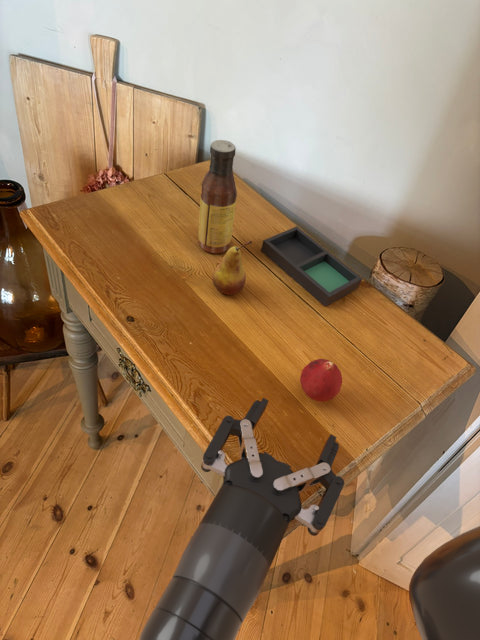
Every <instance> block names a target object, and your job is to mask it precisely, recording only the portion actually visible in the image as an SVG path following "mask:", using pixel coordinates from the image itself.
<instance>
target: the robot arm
mask: <svg viewBox="0 0 480 640" xmlns="http://www.w3.org/2000/svg"><path fill="white" fill-rule="evenodd" d="M268 404H269V399H267V398H265V397H262V399H261V401H260V400H259V399H257V400H254V401H253V402H252V404H251V406H250V408H249V409H248V411H247V413H246V414H245V416H244V417H243V418H242V419H235V418H234V417H233V416H232V415H225V416H224V417H223V419H222V421H221V422H220V424H219V426H218V428H217V430H216V432H215V433H214V435H213V436H212V439H211V441H210V442H209V444H208V446H207V448H206V449H205V451H204V453H203V456H202V460H201V465H200V468H201V470H202V471H203V472H205V473H209V472H211V471H212V472H214V473H216V474H217V475H220V476H221V477H222V480H223V481H222V484H221V485H220V487H219V489H218V491H217V493H216V495H215V496H214V498H213V500H212V502H211V503H210V505H209V507H208V508H207V510H206V512H205V514H204V515H203V517H202V519H201V520H200V522H199V524H198V525H197V528H196V529H195V531H194V533H193V534H192V536H191V537H190V540H189V541H188V543H187V545H186V546H185V548H184V550H183V552H182V555H181V556H180V559H179V561H178V564H177V566H176V569H175V571H174V573H173V575H172V577H171V579H170V580H169V581H168V584H167V585H166V587H165V589H164V591H163V592H162V594H161V595H160V598H159V599H158V601H157V603H156V605H155V606H154V608H153V610H152V612H151V613H150V615H149V616H148V618H147V621H146V622H145V623H144V626H143V627H142V630H141V633H140V635H139V638H138V640H236V638H237V636H238V634H239V631H240V629H241V627H242V624H243V623H244V621H245V620H246V618H247V615H248V613H249V612H250V610H251V608H252V607H253V605H254V604H255V602H256V601H257V598H258V596H259V594H260V592H261V590H262V587H263V585H264V583H265V581H266V578H267V575H268V573H269V571H270V569H271V567H272V564H273V562H274V560H275V557H276V555H277V553H278V550H279V548H280V546H281V544H282V542H283V539H284V537H285V535H286V533H287V530H288V528H289V525H290V524H291V522H293V521H294V520H297V521H298V522H299V523H301V524H302V525H304V526H305V527H307V532H308V534H309V535H310V536H313V537H316V536H318V535H319V534H320V533H321V532H322V530H323V529H325V527H326V525H327V523H328V521H329V519H330V517H331V514H332V512H333V510H334V508H335V506H336V503H337V502H338V499H339V498H340V495H341V492H342V490H343V488H344V486H345V479H344V478H343V477H341V476H339V475H337V474H335V473H334V471H333V468H332V466H333V463H334V461H335V458H336V457H337V453H338V451H339V449H340V444H339V442H336V439H337V436H335V435H334V434H332V433H331V434H330V435H329V436H328V438H327V439H326V441H325V443H324V446H323V448H322V449H321V452H320V455H319V456H318V460H317V461H316V463H315V465H313V466H311V467H304V468H302V469H299V470H297V471H295V472H294V471H293V469H291V468H292V466H291V465H289V464H287V463H286V462H284V461H280V460H277V459H276V458H275V457H273V456H272V455H271V454H270V453H268V452H266V451H264V452H259V449H258V444H257V440H256V437H255V436H254V430H255V428H256V426H257V425H258V423H259V421H260V419H262V416H263V414H264V413H265V411H266V409H267V406H268ZM231 436H235V437H237V442H238V448H239V451H238V453H239V455H238V456H239V459H238V460H235V461H233V462H230V463H229V464H227V463H226V461H225V459H226V454H225V453H226V452H224V451H223V449H224V447H225V445H226V443H227V441H228V440H229V437H231ZM319 484H321V486H322V487H323V488H324V489H325V490H324V492H323V494H322V496H321V498H320V501H319V502H318V504H314V503H313V504H311V505H309V507H308V508H303V505H302V500H301V496H300V494H301V493H303V492H305V491H307V490H308V489H310V488H312V487H314V486H317V485H319ZM408 597H409V599H408V600H409V603H410V608H411V611H412V615H413V619H414V622H415V624H416V629H417V632H418V633H419V636H420V638H421V640H480V525H478V526H476V527H474V528H472V529H470V530H467V531H464V532H463V533H461V534H459V535H457V536H455V537H453V538H452V539H450V540H448V541H446V542H444V543H443V544H441V545H440V546H438V547H437V548H435V549H434V550H433V551H432V552H430V554H428V555H426V557H424V559H423V560H421V562H420V564H419V565H418V566H417V567H416V569H415V570H414V572H413V573H412V576H411V578H410V581H409V585H408Z"/></svg>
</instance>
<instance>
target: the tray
mask: <svg viewBox="0 0 480 640" xmlns="http://www.w3.org/2000/svg"><path fill="white" fill-rule="evenodd" d="M260 251H261V252H262V254H264V255H265V256H266V257H267V258H268V259H270V260H271V261H272V262H273V263H274V264H275V265H277V267H279V268H280V269H281V270H282V271H283V272H284V273H285V274H286V275H288V277H290V278H291V279H293V281H295V282H296V283H297V284H298V285H299V286H300V287H302V288H303V289H304V290H305V291H306V292H308V294H310V295H311V296H312V297H313V298H314V299H315V300H316V301H318V302H319V303H320V304H321V305H322V306H323V307H324V308H326V307H328V306H330V305H332V304H333V303H335V302H336V301H338V300H341V299H342V298H344V297H346V296H347V295H349V294H351V293H352V292H354V291H356V290H357V289H359V287H360V285H361V283H362V281H363V279H364V278H363V277H362V276H360V275H359V274H358V273H357V272H356V271H354V270H353V269H352V268H350V267H349V266H348V265H347V264H346V263H344V262H343V261H342V260H340V259H339V258H338V257H337V256H335V255H334V254H332V253H331V252H330V251H329V250H328V249H326V248H325V247H324V246H323V245H322V244H320V243H319V242H318V241H316V240H315V239H314V238H313V237H312V236H310V235H309V234H308V233H306V232H305V231H304V230H303V229H301V228H300V227H299V226H293V227H291V228H289V229H287V230H284V231H282V232H280V233H277V234H275V235H272V236H270V237H268V238H265V239H263V240H262V244H261V248H260Z"/></svg>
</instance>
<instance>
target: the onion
mask: <svg viewBox="0 0 480 640" xmlns="http://www.w3.org/2000/svg"><path fill="white" fill-rule="evenodd" d="M342 376H343V375H342V371H341V370H340V368H339V367H338V365H337V364H335V363H334V362H333V361H331V360H330V359H326V358H318V359H314V360H311V361H310V362H308V363H307V364H306V365H305V366H304V367H303V368H302V370H301V373H300V377H299V382H300V385H301V389H302V390H303V392H304V393H305V395H306V396H307V397H308V398H310V399H311V400H314V401H316V402H328V401H330V400H333V399H334V398H335V397H336V396H337V395H338V394H339V393H340V391H341V388H342V384H343V377H342Z"/></svg>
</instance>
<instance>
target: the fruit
mask: <svg viewBox="0 0 480 640" xmlns="http://www.w3.org/2000/svg"><path fill="white" fill-rule="evenodd" d="M252 243H253V242H252V240H249V241H246V242H245V243H243V244H242V245H240V246H237V245H235V246H231V247H229V248H228V250H226V252H225V254H224V256H223V257H222V259H221V260H220V263H218V264H217V266H216V267H215V268H214V271H213V275H212V283H213V286H214V287H215V289H216V290H217V291H218V292H220V293H222V294H224V295H227V296H231V295H235V294H237V293H239V292H240V291H242V290H243V288H244V287H245V285H246V281H247V277H246V276H247V273H246V270H245V268H244V265H243V262H242V253H241V250H240V249H241V248H243V247H245V246H249V245H251V244H252Z"/></svg>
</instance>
